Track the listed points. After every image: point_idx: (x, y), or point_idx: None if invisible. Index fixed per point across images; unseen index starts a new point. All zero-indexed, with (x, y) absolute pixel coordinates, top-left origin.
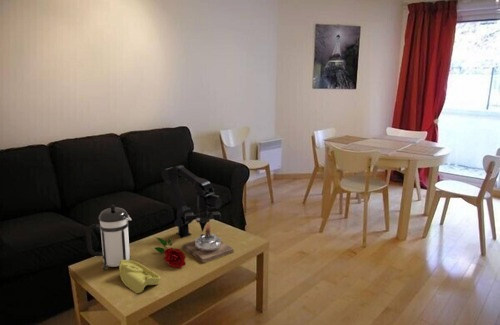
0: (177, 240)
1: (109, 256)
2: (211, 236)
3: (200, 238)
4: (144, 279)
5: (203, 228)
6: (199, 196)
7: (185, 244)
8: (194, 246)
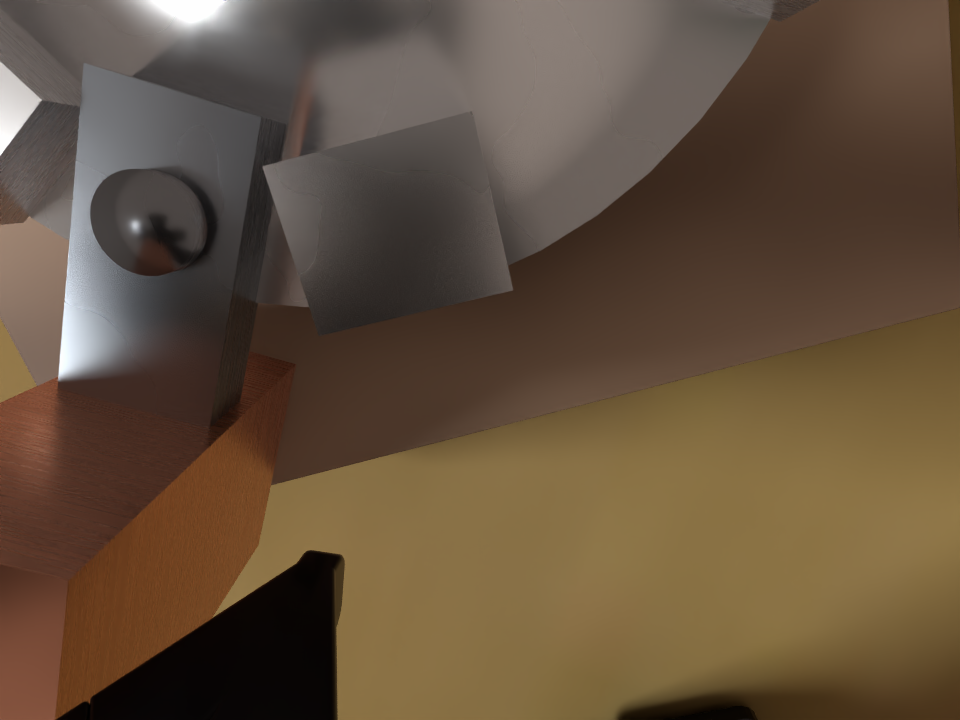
0: (853, 634)
1: None
2: (31, 53)
3: (521, 124)
4: None
5: (227, 624)
6: None
7: (912, 266)
8: None
